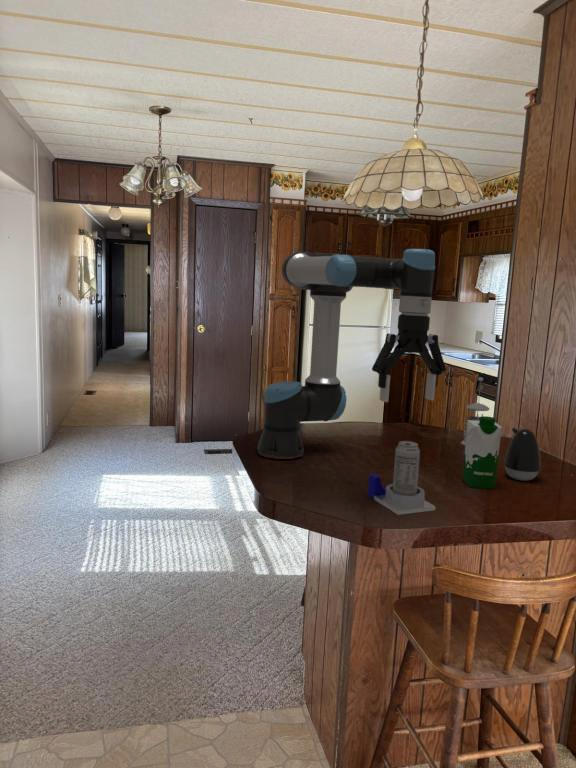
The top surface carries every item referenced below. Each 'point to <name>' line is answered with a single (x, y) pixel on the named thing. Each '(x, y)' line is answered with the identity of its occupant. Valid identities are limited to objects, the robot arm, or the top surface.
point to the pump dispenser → (523, 456)
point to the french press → (477, 408)
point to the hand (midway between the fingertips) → (407, 400)
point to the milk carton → (481, 452)
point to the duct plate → (404, 510)
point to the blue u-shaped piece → (375, 486)
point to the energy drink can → (406, 468)
